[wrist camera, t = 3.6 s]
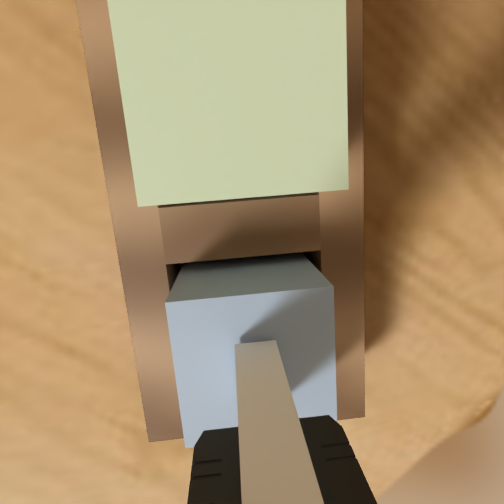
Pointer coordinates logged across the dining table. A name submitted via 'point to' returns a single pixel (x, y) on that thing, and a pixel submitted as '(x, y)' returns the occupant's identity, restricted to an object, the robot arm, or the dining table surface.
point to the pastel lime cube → (232, 97)
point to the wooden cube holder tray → (226, 233)
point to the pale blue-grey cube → (250, 334)
